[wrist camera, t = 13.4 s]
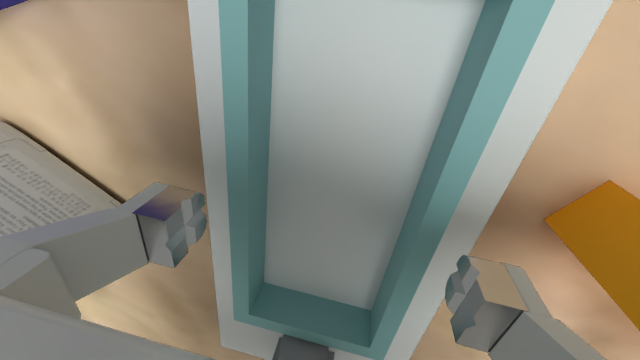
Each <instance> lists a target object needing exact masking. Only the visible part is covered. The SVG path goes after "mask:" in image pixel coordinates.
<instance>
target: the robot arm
mask: <svg viewBox="0 0 640 360" xmlns="http://www.w3.org/2000/svg"><path fill="white" fill-rule="evenodd" d="M204 205H205V201H204V196H203V195H202V194H201V193H198V192H194V191H191V190H187V189H183V188H179V187H175V186H170V185H166V184H162V183H153V184H152V185H150V186H149V187H147V188H146V189H144V190H143V191H141V192H140V193H138V194H137V195H135V196H134V197H132V198H131V199H129V200H128V201H126V202H125V203H123V204H122V205H120V206H119V207H117V208H116V209H111V208H108V209H105V210H101V211H97V212H93V213H89V214H86V215H82V216H78V217H74V218H70V219H66V220H63V221H59V222H55V223H51V224H47V225H44V226H40V227H36V228H32V229H28V230H24V231H21V232H17V233H13V234H9V235H5V236H2V237H0V360H215V359H212V358H209V357H205V356H202V355H199V354H195V353H192V352H189V351H185V350H182V349H179V348H175V347H172V346H169V345H165V344H162V343H159V342H155V341H152V340H149V339H145V338H142V337H139V336H136V335H132V334H129V333H126V332H122V331H119V330H116V329H112V328H109V327H106V326H102V325H99V324H96V323H92V322H89V321H86V320H82V319H81V313H80V311H79V309H78V307H77V305H76V303H75V301H77V300H79V299H81V298H83V297H85V296H87V295H89V294H91V293H92V292H94V291H96V290H98V289H100V288H102V287H104V286H106V285H108V284H110V283H112V282H113V281H115V280H117V279H119V278H121V277H123V276H125V275H127V274H129V273H131V272H133V271H134V270H136V269H138V268H140V267H142V266H144V265H146V264H148V262H151V263H155V264H160V265H164V266H168V267H172V268H175V267H176V266H177V264H178V263H179V262H180V261H181V260H182V259H183V258H184V256H185V255H186V254H187V253H188V246H190V245H192V244H194V243H197V241H198V240H199V239H200V238H201V237H202V235H203V233H204V230H205V228H206V222H207V220H206V214H205V213H204V212H203V210H202V209H201V208H202V207H203V206H204ZM456 265H457V268H458V271H456V272H454V273H452V274H450V276H449V278H448V280H447V283H446V288H445V299H446V304H447V307H448V308H449V309H450V310H451V312H452V313H453V314H454V315H453V317H452V319H451V320H450V321H451V325H452V329H453V333H454V338H455V342H456V343H457V344H460V345H463V346H467V347H470V348H474V349H477V350H480V351H484V352H487V353H489V354H488V355H489V356H490V358H491V359H492V360H607V359H606V358H604V357H603V356H602V355H601V354H600V353H598V352H597V351H596V350H595V349H594V348H592V347H591V346H590V345H589V344H588V343H586V342H585V341H584V340H583V339H582V338H580V337H579V336H578V335H577V334H576V333H574V332H573V331H572V330H571V329H569V328H568V327H567V326H566V325H565V324H563V323H562V322H561V321H560V320H557V319H553V318H552V316H551V314H550V313H549V311H548V309H547V308H546V306H545V304H544V303H543V301H542V299H541V298H540V296H539V294H538V293H537V291H536V289H535V288H534V286H533V284H532V283H531V281H530V279H529V278H528V276H527V274H526V273H525V271H524V270H523V269H522V268H521V267H519V266H515V265H510V264H505V263H498V262H494V261H489V260H485V259H481V258H476V257H472V256H468V255H462V256H461V257H460V258H459V260H458V262H457V263H456Z"/></svg>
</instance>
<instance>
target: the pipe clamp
mask: <svg viewBox="0 0 640 360" xmlns="http://www.w3.org/2000/svg"><path fill="white" fill-rule="evenodd" d="M544 220H545V221H546V222H547V223H548V225H549V226H550V227H551V228H552V229H553V230H554V232H555V233H556V234H557V235H558V236H559V237H560V239H561V240H562V241H563V242H564V243H565V244H566V246H567V247H568V248H569V249H570V250H571V251H572V253H573V254H574V255H575V256H576V257H577V258H578V259H579V261H580V262H581V263H582V264H583V265H584V266H585V268H586V269H587V270H588V271H589V272H590V273H591V275H592V276H593V277H594V278H595V279H596V280H597V282H598V283H599V284H600V285H601V286H602V287H603V289H604V290H605V291H606V292H607V293H608V294H609V296H610V297H611V298H612V299H613V300H614V301H615V303H616V304H617V305H618V306H619V307H620V308H621V310H622V311H623V312H624V313H625V314H626V315H627V317H628V318H629V319H630V320H631V321H632V322H633V324H634V325H635V326H636V327H637V328H638V329H639V331H640V200H639V199H637V198H636V197H634V196H633V195H631V194H630V193H628V192H627V191H625V190H624V189H622V188H621V187H619V186H618V185H616V184H615V183H613V182H612V181H610V180H609V181H608V182H606V183H604V184H603V185H601V186H599V187H597V188H596V189H594V190H592V191H591V192H589V193H587V194H586V195H584V196H582V197H581V198H579V199H577V200H576V201H574V202H572V203H571V204H569V205H567V206H565V207H564V208H562V209H560V210H559V211H557V212H555V213H554V214H552V215H550V216H549V217H547V218H545V219H544Z"/></svg>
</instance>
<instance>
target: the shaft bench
mask: <svg viewBox="0 0 640 360" xmlns="http://www.w3.org/2000/svg"><path fill="white" fill-rule="evenodd" d="M612 1H613V0H187V2H188V12H189V22H190V33H191V43H192V53H193V64H194V74H195V84H196V95H197V105H198V115H199V126H200V136H201V146H202V157H203V167H204V177H205V188H206V198H207V208H208V219H209V229H210V239H211V250H212V260H213V270H214V281H215V291H216V301H217V312H218V322H219V332H220V343H221V346H222V347H225V348H229V349H232V350H236V351H239V352H243V353H246V354H249V355H253V356H256V357H260V358H263V359H266V360H409V359H410V357H411V355H412V354H413V352H414V350H415V348H416V347H417V345H418V343H419V341H420V339H421V338H422V336H423V334H424V332H425V331H426V329H427V327H428V325H429V324H430V322H431V320H432V318H433V317H434V315H435V313H436V311H437V310H438V308H439V306H440V304H441V302H442V301H443V299H444V297H445V288H446V283H447V280H448V278H449V276H450V274H452V273H454V272H456V271H458V268H457V265H456V263H457V262H458V260H459V258H460V257H461V256H462V255H469V253H470V251H471V250H472V248H473V246H474V244H475V243H476V241H477V239H478V237H479V236H480V234H481V232H482V230H483V229H484V227H485V225H486V223H487V222H488V220H489V218H490V216H491V214H492V213H493V211H494V209H495V207H496V206H497V204H498V202H499V200H500V199H501V197H502V195H503V193H504V192H505V190H506V188H507V186H508V185H509V183H510V181H511V179H512V178H513V176H514V174H515V172H516V170H517V169H518V167H519V165H520V163H521V162H522V160H523V158H524V156H525V155H526V153H527V151H528V149H529V148H530V146H531V144H532V142H533V141H534V139H535V137H536V135H537V133H538V132H539V130H540V128H541V126H542V125H543V123H544V121H545V119H546V118H547V116H548V114H549V112H550V111H551V109H552V107H553V105H554V104H555V102H556V100H557V98H558V97H559V95H560V93H561V91H562V89H563V88H564V86H565V84H566V82H567V81H568V79H569V77H570V75H571V74H572V72H573V70H574V68H575V67H576V65H577V63H578V61H579V60H580V58H581V56H582V54H583V53H584V51H585V49H586V47H587V45H588V44H589V42H590V40H591V38H592V37H593V35H594V33H595V31H596V30H597V28H598V26H599V24H600V23H601V21H602V19H603V17H604V16H605V14H606V12H607V10H608V8H609V7H610V5H611V3H612Z"/></svg>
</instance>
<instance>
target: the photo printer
mask: <svg viewBox="0 0 640 360" xmlns="http://www.w3.org/2000/svg"><path fill="white" fill-rule="evenodd" d="M120 205H122V204H121V203H120V202H118V201H117V200H115V199H114V198H112V197H111V196H110V195H108V194H107V193H106V192H104V191H103V190H102V189H100V188H99V187H97V186H96V185H95V184H93V183H92V182H90V181H89V180H88V179H86V178H85V177H84V176H82V175H81V174H79V173H78V172H76V171H75V170H74V169H72V168H71V167H70V166H68V165H67V164H65V163H64V162H62V161H61V160H60V159H58V158H57V157H55V156H54V155H53V154H51V153H50V152H48V151H47V150H46V149H45V148H43V147H42V146H41V145H39V144H38V143H36V142H35V141H33V140H32V139H30V138H29V137H27V136H26V135H24V134H23V133H21V132H20V131H18V130H17V129H15V128H13V127H11V126H10V125H8V124H6V123H4V122H1V121H0V237H2V236H5V235H9V234H13V233H17V232H21V231H24V230H28V229H32V228H36V227H40V226H44V225H47V224H51V223H55V222H59V221H63V220H66V219H70V218H74V217H78V216H82V215H86V214H89V213H93V212H97V211H101V210H105V209H108V208H111V209H116V208H117V207H119V206H120Z"/></svg>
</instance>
